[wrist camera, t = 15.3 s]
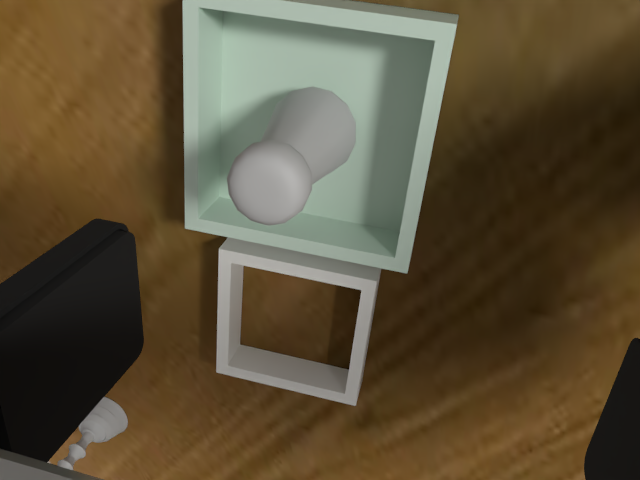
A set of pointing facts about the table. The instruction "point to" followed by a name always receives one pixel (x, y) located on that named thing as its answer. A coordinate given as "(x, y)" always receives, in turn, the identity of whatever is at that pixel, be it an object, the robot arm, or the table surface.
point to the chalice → (97, 429)
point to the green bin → (330, 74)
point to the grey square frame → (279, 366)
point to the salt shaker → (292, 155)
